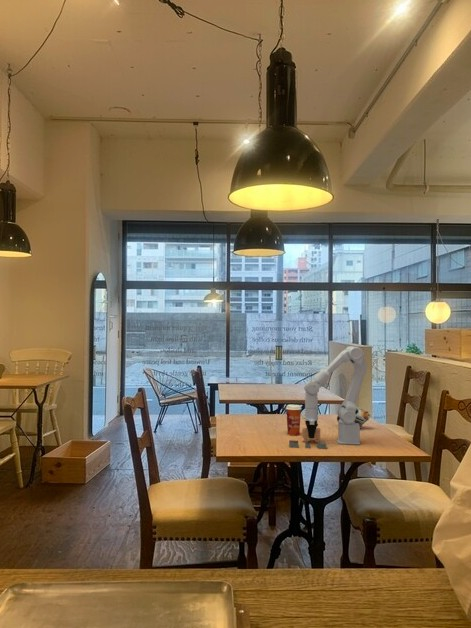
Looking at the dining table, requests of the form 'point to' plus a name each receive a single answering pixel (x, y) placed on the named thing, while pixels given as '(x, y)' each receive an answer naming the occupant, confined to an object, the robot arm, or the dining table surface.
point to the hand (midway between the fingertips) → (311, 437)
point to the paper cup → (293, 419)
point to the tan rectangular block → (305, 435)
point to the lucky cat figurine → (360, 416)
